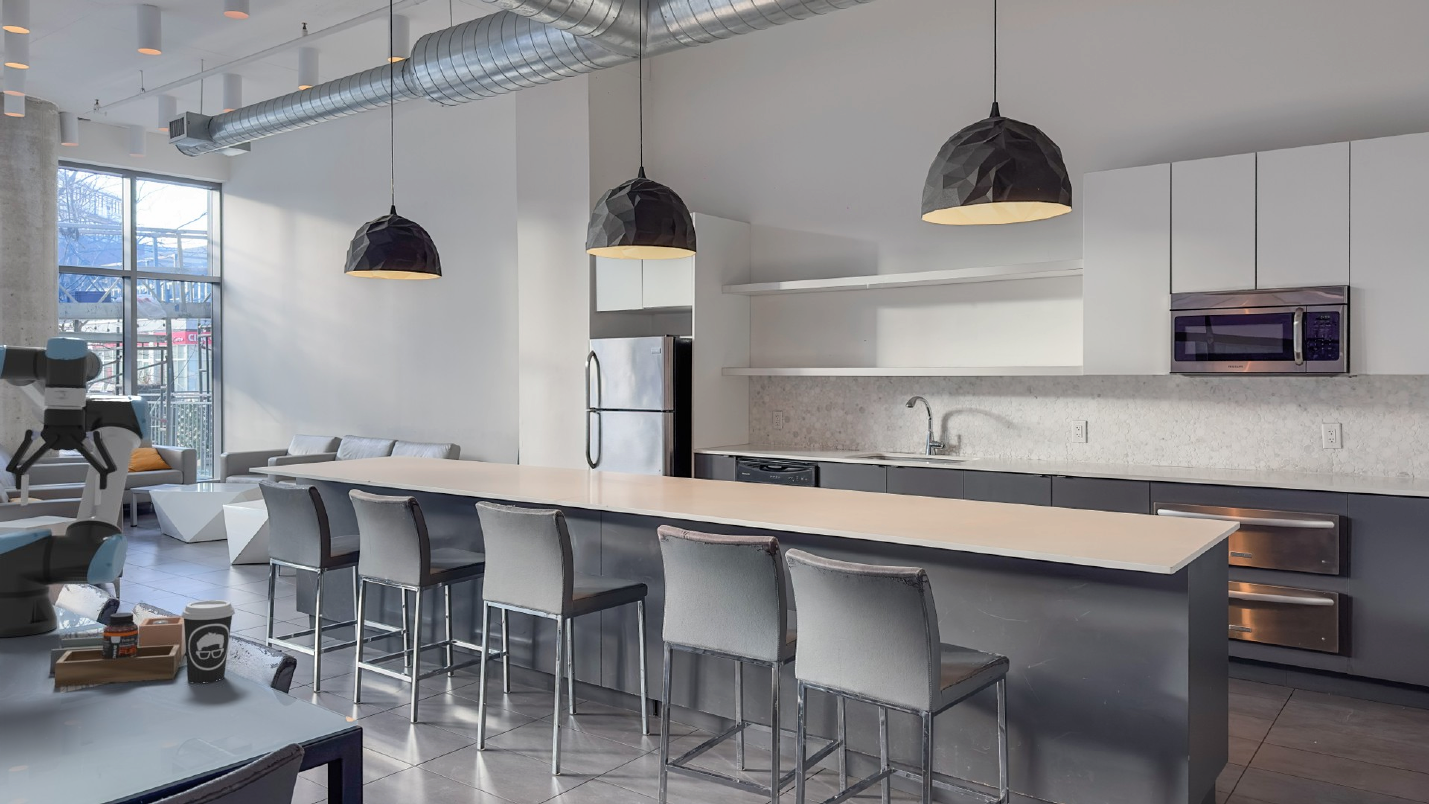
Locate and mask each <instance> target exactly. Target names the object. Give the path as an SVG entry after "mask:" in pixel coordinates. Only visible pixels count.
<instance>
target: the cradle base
mask: <svg viewBox="0 0 1429 804" xmlns="http://www.w3.org/2000/svg"><path fill="white" fill-rule="evenodd" d="M60 645H61V646H60V648H52V649H51V650H50V663H49V665H50V668H49V673H51V674H53V673H54V674H55V663H56V662H57V661H58V660H59V659H60V658H61V657H62V656H63V655H64V654H65V653H66V652H67V651H69V650H87V649H103V646H101V645H103V636H93V637H91V636H89V637H72V638H62V639H61V641H60ZM84 646H100V647H84ZM66 647H82V648H66ZM64 648H65V649H64Z"/></svg>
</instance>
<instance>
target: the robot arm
mask: <svg viewBox="0 0 1429 804" xmlns="http://www.w3.org/2000/svg"><path fill="white" fill-rule="evenodd" d="M103 367H104V365H103V361H102V359H101V357H100V355H98V354H97V353H95V352H94V351H92V350H89V348H88V342H87V340H86V339H84V338H77V337H60V336H59V337H58V336H57V337H56V336H55V337H54V336H53V337H49V339H47V342H46V347H39V346H21V345H20V346H19V345H6V344H4V345H2V344H1V345H0V380H5V381H6V382H7V383H8V384H9V385H10V386H11V388H13V389H14V390H15V391H16V392H17V393H18V394H19V396H21V398H22V399H23V400H24V401H25V402H26V403H27V404H28V405H29V406H30V407H31V411H32V414H33V416H34V417H35V418H36V420H37V421H38V422H39V423H40V424H42V425H43V428H42V430H36V429H34V428H32V429H31V428H29V429H26V430H25V433H24V439H23V441H22V442H21V444H20V445H19V447H18V448H17V449H16V452H15V453H14V454H13V456H12V458H11V460H10V461H9V462H8V464H7V466H6V467H5V471H6V472H7V473H12V474H14V475H15V490H16V491H18V490H19V491H20V507H23V506H28V505H29V487H30V474H26V472H28V470H30V469H31V467H33V465H35V464H37V462H38V461H39V460H40V459H41V458H42V457H43V456H44V455H45V454H46V453H48V452H49V451H50V450H53V451H61V450H62V451H67V452H68V451H69V452H71V451H74V450H76V451H77V452H78V453H79V454H80V455H81V456H82V457H83V458H84V459H86V461H87V462H88V463H89V465H88V470H87V474H86V478H85V482H84V486H83V491H82V495H81V500H80V503H79V506H78V512H77V514H76V515H77V516H76V520H75V521H73V522H71V523H69V524H68V525H67V527H66V530H65V534H60V535H55V534H54V535H53V531H52V530H51V529H50V528H39V529H38V528H37V529H29V530H21V531H16V532H10V533H9V532H8V533H6V534H2V535H1V534H0V638H13V637H24V636H32V635H38V634H43V633H48V632H49V631H52V630H55V629H57V627H58V617H57V614H56V610H55V608H54V605H53V602H52V600H51V596H50V586H55V585H58V586H59V585H91V586H93V585H97V584H108V583H112V582H113V581H115V580H117V579H118V578H119V576H120V575H121V573H122V571H123V568H124V567H125V563H126V559H127V552H128V540H127V537H126V535H124V534H123V531H122V529H121V528H120V527H119V525H117V524H118V521H119V520H118V519H119V515H120V512H121V506H122V500H123V497H124V493H125V489H126V488H125V486H126V482H127V478H128V472H129V468H130V464H131V459H132V453H133V452H134V451H135V450H137V449H139V448H140V446H141V443H142V440H143V441H146V440H149V439H150V437H151V434H152V433H151V432H152V429H151V428H152V423H151V422H152V421H151V412H150V405H149V402H148V400H147V398H146V397H144V396H140V395H130V394H126V395H118V394H114V395H113V394H91V393H89V394H87V383H88V382H92V381H94V380H96V379H97V378H98V377H99V376H100V375H101V374H102V371H103ZM39 437H41V438H42V440H43V441H44V442H45V443H44V444H42V445H41V446H39V448H38V449H37V450H36V451H35V452H34V453H33V454H32V455H30V457H29V458H28V459H27V460H26V461H24V463H23V464H22V465H20V462H21V461H22V459H23V458H24V456H25V455H26V453H27V451H28V450H29V448H30V447H31V446H32V444H33V441H35V440H38V438H39ZM86 439H89V442H90V443H91V445H92V446H93V449H92V451H90V450H89V449H88V448H87V447H86V445H85V444H84V443H83V442H84V441H85V440H86ZM19 465H20V466H19ZM18 466H19V467H18Z"/></svg>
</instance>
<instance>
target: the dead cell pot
mask: <svg viewBox="0 0 1429 804" xmlns="http://www.w3.org/2000/svg"><path fill="white" fill-rule="evenodd" d="M173 644H180V662H179V663H182V661H183V659H184V658H185V656H186V643H185V628H184V618H182V617H181V616H166V617H165V616H164V617H163V616H162V617H145V618H143V620H142V621H141V623H140V624H139V626H138V644H137V647H139V646H156V645H173Z"/></svg>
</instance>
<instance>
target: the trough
mask: <svg viewBox="0 0 1429 804" xmlns="http://www.w3.org/2000/svg"><path fill="white" fill-rule="evenodd" d="M102 655H103V649H87V650H69V651H67V652H66V653H65V654H64V655H63V656H62V657H61V658H60V659H59V660H58V661H57V662H56V663H55V673H54V688H56V687H59V688H60V687H73V686H86V685H85V684H88V685H99V684H100V683H102V684H108V683H107V682H116V683H126V681H127V683H129V682H128V681H131V682H142V680H145V681H158V680H157V679H159V680H171V679H173V680H174V677H175V676H176V674H177V671H178V669H179V667H180V663H181V662H180V644H173V645H156V646H139V647H138V646H137V656H138V657H130V658H114V659H102ZM155 679H156V680H155ZM100 685H101V684H100Z"/></svg>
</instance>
